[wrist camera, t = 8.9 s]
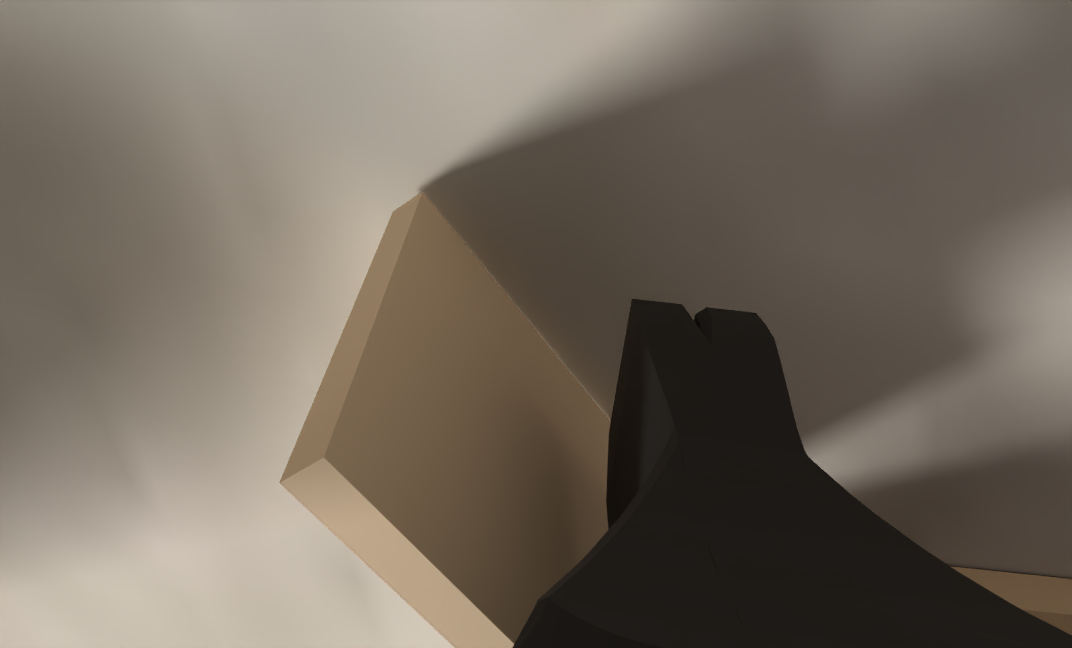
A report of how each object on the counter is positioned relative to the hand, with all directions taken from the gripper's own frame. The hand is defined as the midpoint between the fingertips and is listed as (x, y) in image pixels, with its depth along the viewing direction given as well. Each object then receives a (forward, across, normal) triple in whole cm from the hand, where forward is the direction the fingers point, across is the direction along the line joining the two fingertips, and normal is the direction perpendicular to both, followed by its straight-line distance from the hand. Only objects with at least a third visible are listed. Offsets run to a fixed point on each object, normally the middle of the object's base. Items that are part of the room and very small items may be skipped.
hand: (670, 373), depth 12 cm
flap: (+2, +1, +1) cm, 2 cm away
